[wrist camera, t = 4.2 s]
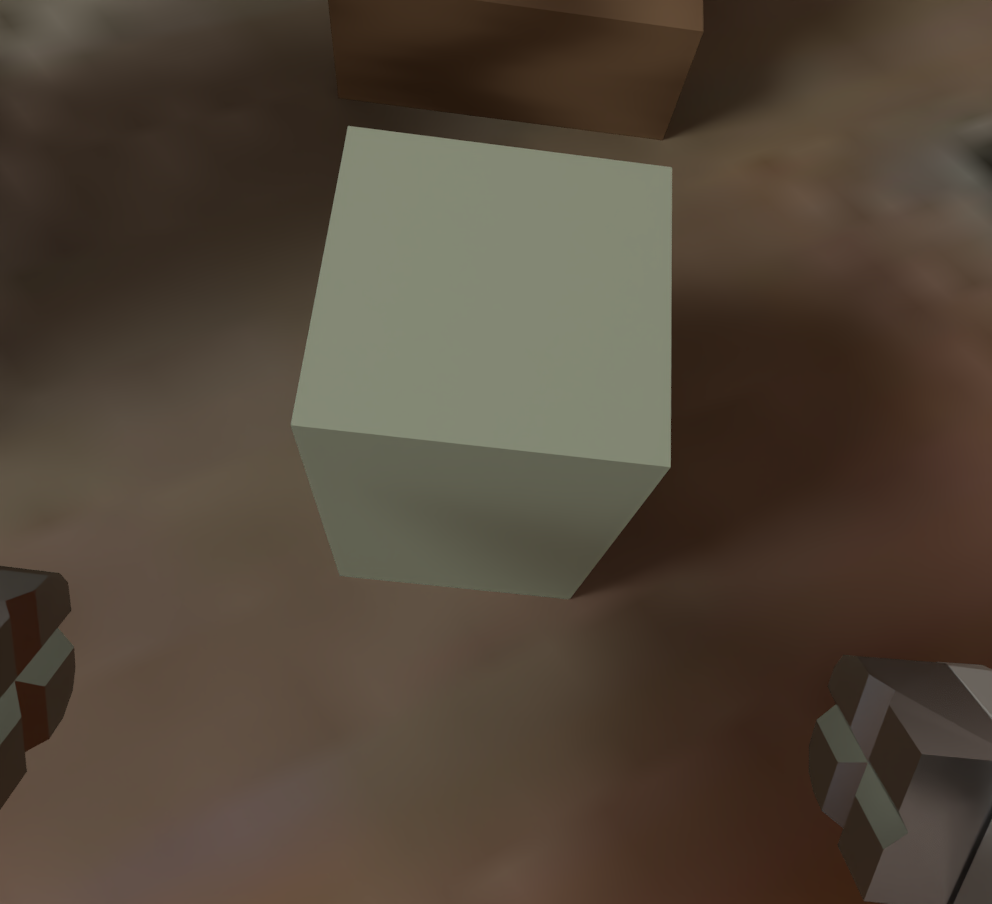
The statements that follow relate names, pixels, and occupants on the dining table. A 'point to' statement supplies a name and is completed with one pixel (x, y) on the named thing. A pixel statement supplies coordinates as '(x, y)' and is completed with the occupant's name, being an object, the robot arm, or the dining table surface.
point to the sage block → (486, 361)
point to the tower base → (521, 58)
